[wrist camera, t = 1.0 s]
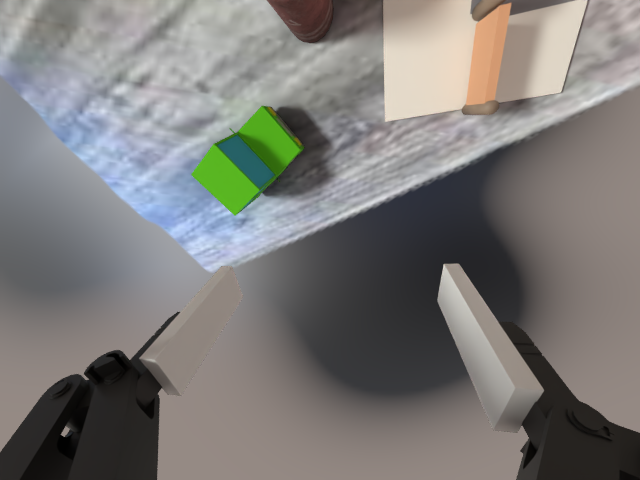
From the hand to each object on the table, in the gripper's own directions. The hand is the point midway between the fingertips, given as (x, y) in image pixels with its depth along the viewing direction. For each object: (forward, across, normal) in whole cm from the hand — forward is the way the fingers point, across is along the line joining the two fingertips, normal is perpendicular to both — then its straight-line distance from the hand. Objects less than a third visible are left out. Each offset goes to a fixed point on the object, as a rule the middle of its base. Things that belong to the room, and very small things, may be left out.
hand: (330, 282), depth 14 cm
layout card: (+28, +17, +18) cm, 37 cm away
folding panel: (+28, +17, +12) cm, 35 cm away
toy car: (+29, -14, +5) cm, 32 cm away
